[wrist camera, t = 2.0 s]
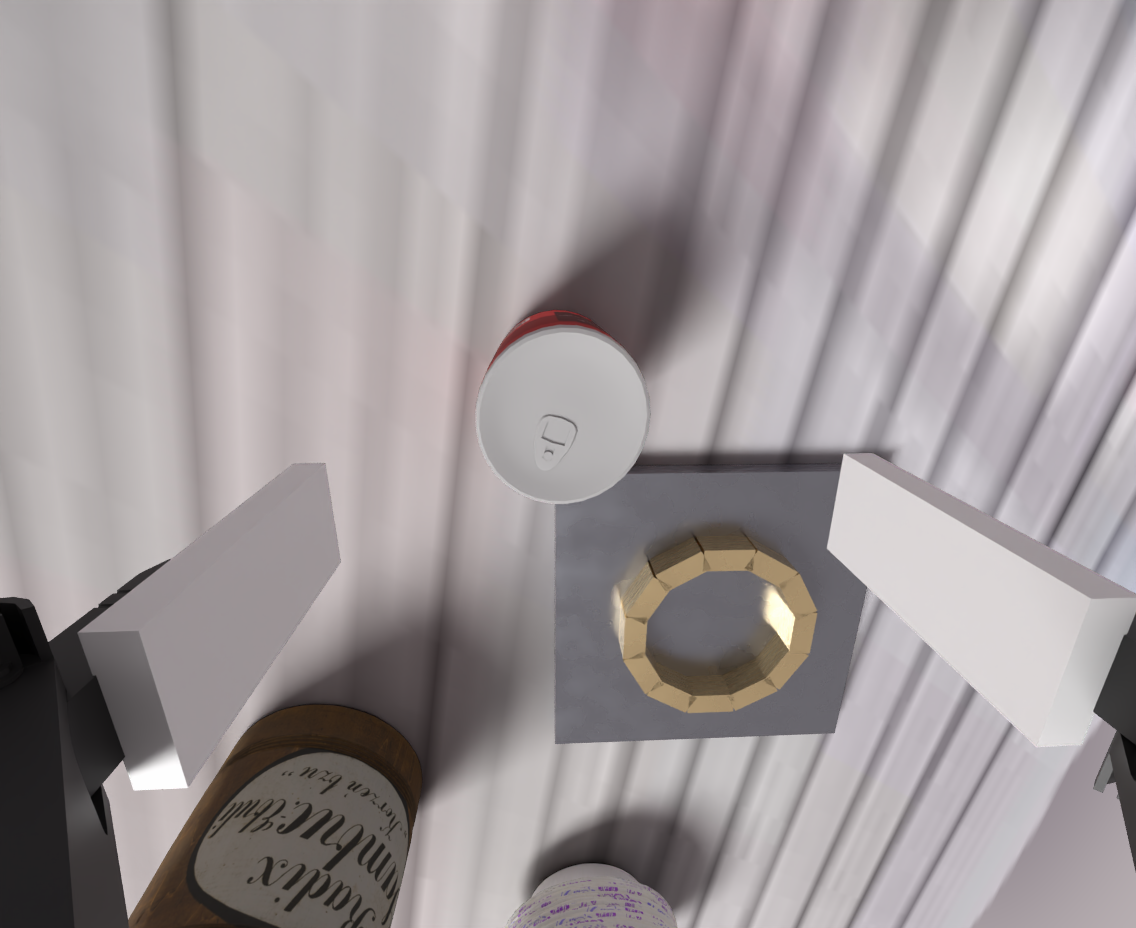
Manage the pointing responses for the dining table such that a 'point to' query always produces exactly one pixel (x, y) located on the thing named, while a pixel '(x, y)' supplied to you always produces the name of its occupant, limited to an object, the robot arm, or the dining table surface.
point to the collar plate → (702, 605)
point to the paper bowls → (593, 901)
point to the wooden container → (295, 829)
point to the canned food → (561, 409)
